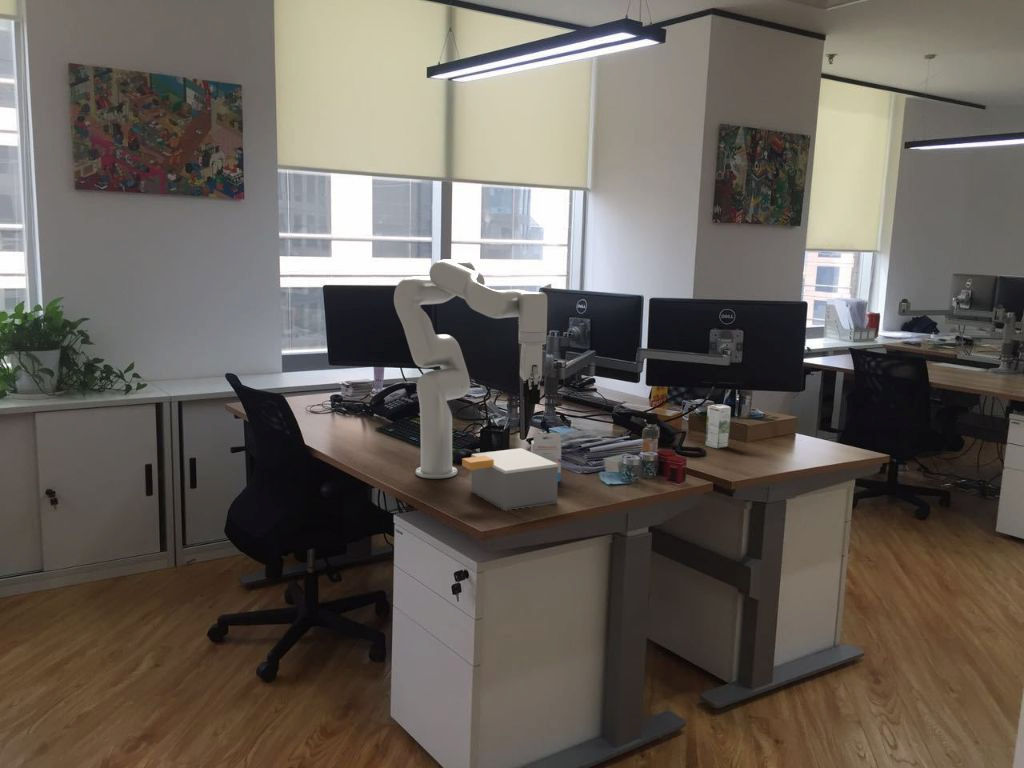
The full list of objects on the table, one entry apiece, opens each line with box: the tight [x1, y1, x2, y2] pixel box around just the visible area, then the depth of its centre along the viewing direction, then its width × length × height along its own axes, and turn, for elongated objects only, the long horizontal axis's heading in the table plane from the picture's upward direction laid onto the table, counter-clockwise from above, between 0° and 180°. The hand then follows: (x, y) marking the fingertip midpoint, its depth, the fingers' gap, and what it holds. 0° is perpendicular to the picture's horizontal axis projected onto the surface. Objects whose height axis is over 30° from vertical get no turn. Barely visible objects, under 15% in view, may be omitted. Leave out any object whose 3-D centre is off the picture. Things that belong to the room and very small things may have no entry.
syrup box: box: [704, 403, 732, 449], centre depth 297 cm, size 6×6×14 cm
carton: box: [470, 467, 559, 512], centre depth 235 cm, size 20×16×10 cm
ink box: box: [530, 432, 562, 483], centre depth 252 cm, size 8×5×15 cm, turn 96°
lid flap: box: [461, 447, 558, 474], centre depth 232 cm, size 20×22×2 cm
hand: (531, 400), depth 232 cm, fingers open, 9 cm apart
